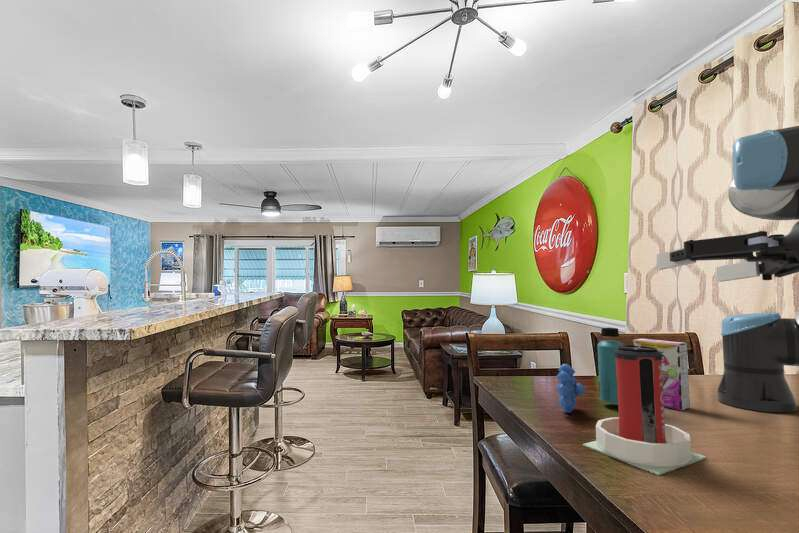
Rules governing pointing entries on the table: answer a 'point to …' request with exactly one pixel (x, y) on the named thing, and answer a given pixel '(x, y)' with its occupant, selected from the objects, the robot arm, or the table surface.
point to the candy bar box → (672, 371)
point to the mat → (651, 469)
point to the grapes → (568, 388)
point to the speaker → (640, 394)
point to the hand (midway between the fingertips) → (688, 268)
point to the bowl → (644, 446)
